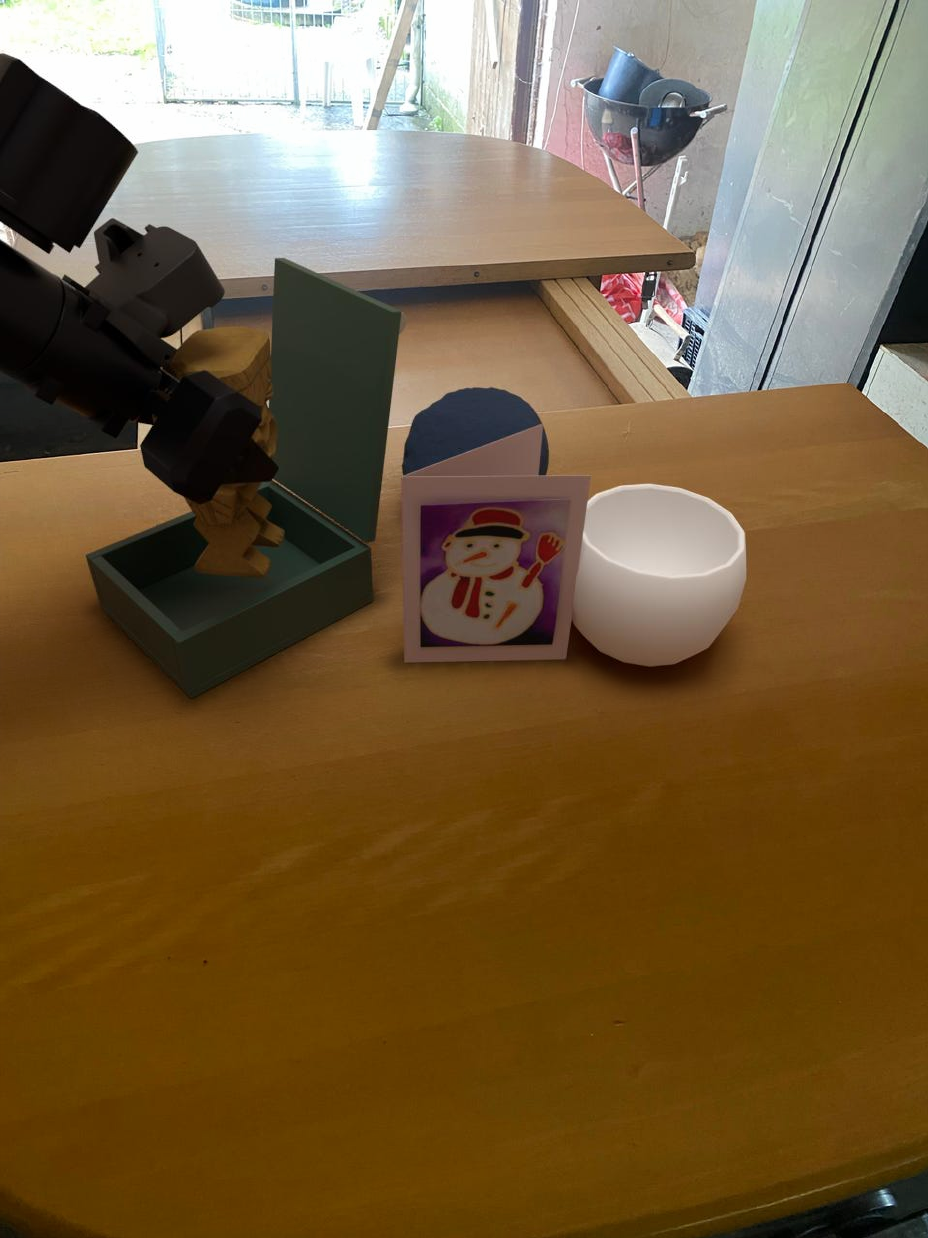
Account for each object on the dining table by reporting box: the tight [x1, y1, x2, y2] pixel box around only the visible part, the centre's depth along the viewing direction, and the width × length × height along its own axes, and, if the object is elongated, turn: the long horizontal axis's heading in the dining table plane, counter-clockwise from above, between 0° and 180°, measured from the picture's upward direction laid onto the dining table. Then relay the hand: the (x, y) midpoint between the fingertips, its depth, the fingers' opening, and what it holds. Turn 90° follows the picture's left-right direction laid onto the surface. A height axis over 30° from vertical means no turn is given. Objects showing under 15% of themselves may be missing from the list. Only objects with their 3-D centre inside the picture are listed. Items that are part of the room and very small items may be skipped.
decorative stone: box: [401, 386, 550, 476], centre depth 76 cm, size 12×12×10 cm
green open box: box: [85, 479, 374, 699], centre depth 67 cm, size 16×13×5 cm
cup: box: [571, 483, 747, 667], centre depth 64 cm, size 12×12×10 cm
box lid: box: [268, 257, 407, 544], centre depth 66 cm, size 16×13×4 cm
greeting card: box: [400, 423, 592, 664], centre depth 62 cm, size 11×7×15 cm, turn 94°
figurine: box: [152, 325, 285, 578], centre depth 60 cm, size 7×7×15 cm
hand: (241, 449), depth 60 cm, fingers closed on figurine, 7 cm apart
